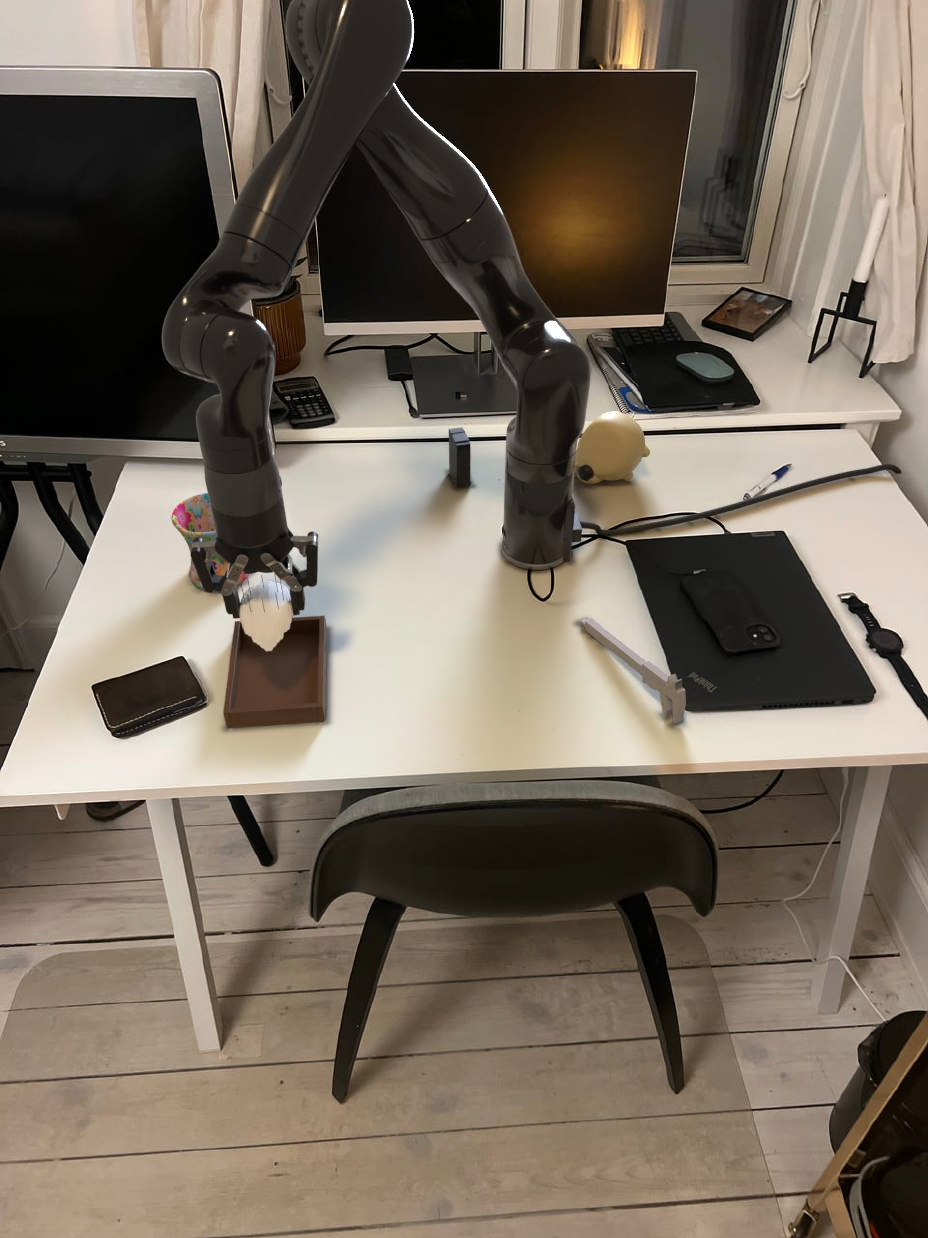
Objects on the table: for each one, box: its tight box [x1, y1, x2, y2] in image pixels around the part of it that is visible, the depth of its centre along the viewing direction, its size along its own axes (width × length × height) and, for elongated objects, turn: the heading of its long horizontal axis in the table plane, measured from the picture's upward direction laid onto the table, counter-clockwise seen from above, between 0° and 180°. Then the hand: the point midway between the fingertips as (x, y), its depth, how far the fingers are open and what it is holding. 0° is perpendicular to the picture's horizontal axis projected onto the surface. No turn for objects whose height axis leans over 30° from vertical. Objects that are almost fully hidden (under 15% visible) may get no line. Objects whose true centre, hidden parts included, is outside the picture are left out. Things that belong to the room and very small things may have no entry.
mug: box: [171, 492, 250, 590], centre depth 130 cm, size 12×9×11 cm
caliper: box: [578, 617, 687, 724], centre depth 117 cm, size 20×1×6 cm, turn 28°
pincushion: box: [239, 574, 294, 651], centre depth 110 cm, size 12×6×6 cm, turn 10°
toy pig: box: [574, 410, 651, 485], centre depth 148 cm, size 10×12×11 cm
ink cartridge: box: [448, 426, 472, 489], centre depth 148 cm, size 5×2×8 cm, turn 14°
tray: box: [222, 615, 328, 729], centre depth 117 cm, size 11×16×3 cm
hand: (267, 611), depth 111 cm, fingers closed on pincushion, 6 cm apart
